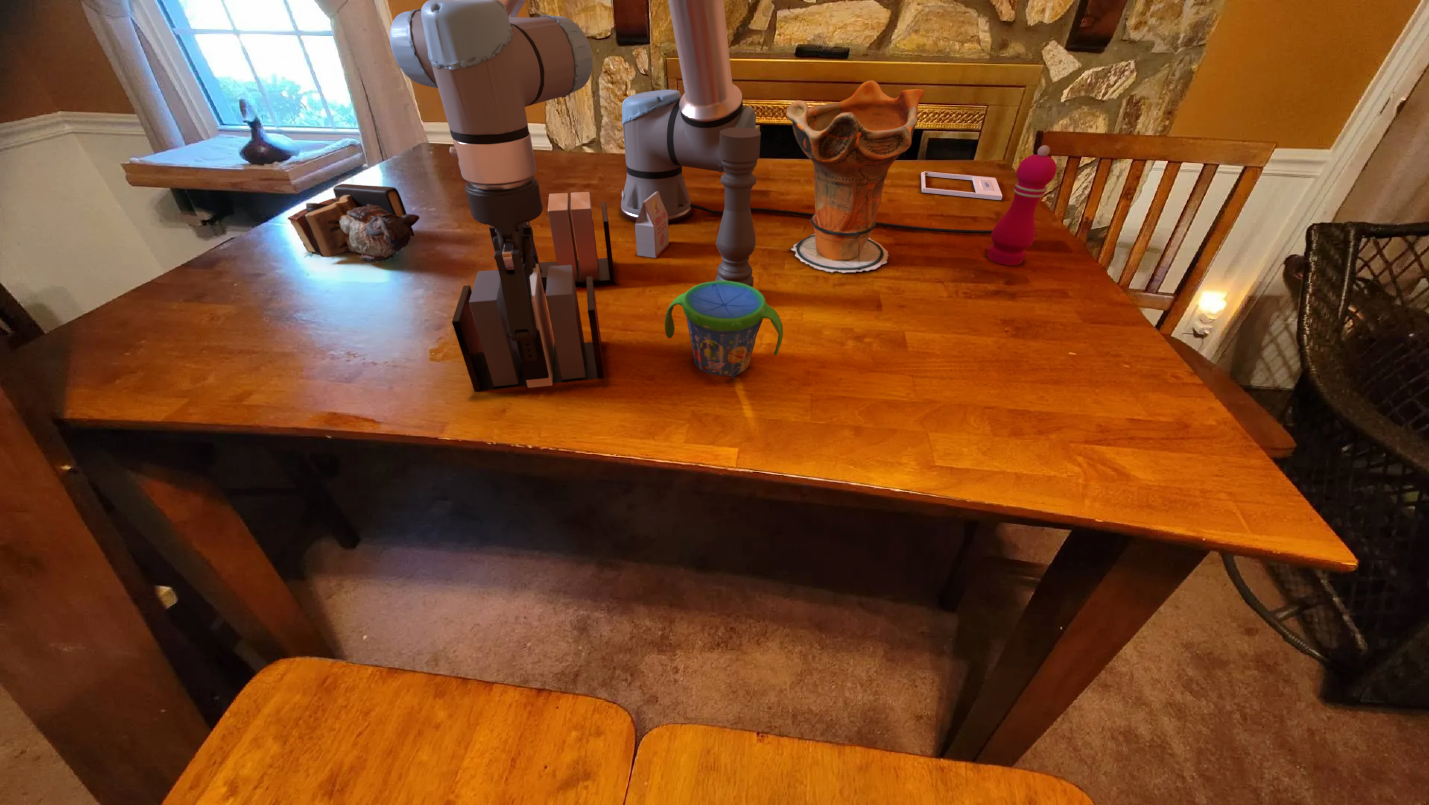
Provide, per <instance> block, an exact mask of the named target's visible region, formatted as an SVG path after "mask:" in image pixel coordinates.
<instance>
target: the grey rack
mask: <svg viewBox="0 0 1429 805" xmlns="http://www.w3.org/2000/svg"><path fill="white" fill-rule="evenodd" d="M586 281H587V287H586V300H587V301H586V302H587V314H588V319H589V320H588V321H589V327H590V335H591V341H588V342H584V343H585V367H586V377H585V378H575V379H565V380H562V376H561V371H560V366H559V361H558V356H557V351H556V346H555V344H554V359H553V381H552V385H553V384H561V383H572V382H582V381H590V380H602V379H605V373H604V360H603V359H604V358H603V357H604V356H603V346H602V344H603V343H602V336H601V330H600V322H599V315H598V314H599V313H598V307H597V300H596V291H595V286H594V284H593V277H592V276H589V277H586ZM472 291H473V290H472V288H471V285H463V286H462V290H461V292H460V295H459V298H458V301H457V305H456V308H455V310H454V312H453V313H454V314H453V317H452V320H451V324H452V327H453V330H454V333H455V336H456V339H457V342H458V345H459V348H460V351H461V354H462V357H463V361H464V363H465V367H466V370H467V373H468V376H469V379H470V382H471V385H472V388H473V392H475V393H476V392H484V391H494V390H503V389H513V388H514V389H515V388H523V387H528V386H527V382H526V378H525V374H524V370H523V366H522V362H521V368H520V376H519V384H516V385H506V386H496V387H494V385H493V382H492V378H491V375H490V372H489V368H488V365H487V361H486V358H485V355H484V351H483V348H482V345H481V341H480V338H479V334H478V331H477V328H476V324H475V321H474V318H473V314H472V311H471V307H470V304H469V301H470V297H471V294H472Z"/></svg>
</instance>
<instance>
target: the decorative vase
mask: <svg viewBox="0 0 1429 805" xmlns="http://www.w3.org/2000/svg"><path fill="white" fill-rule="evenodd" d="M881 88H882V87H881V86H880V84H879V83H878V82H876V81H875V80H867V81H864V82H862V83H861V85H859V86H858V87H857V88H856V90H855V91H854V93H853V94H852V95H851V96H850V97H848V98H846V99H843V100H841V101H839V102H833V103H827V104H821V105H814V106H812V107H809V104H808V103H807V101H805V100H799V99H798V100H795V101H792V102H791V103H790V104H789V105H788V107H787V109H786V113H785V114H786V115H785V116H786V118H787V119H788V120H789V121H790V122H791V124H792V126H791V127H792V130H793V134H794V137H795V140H796V142H797V144H798V145H799V147H800V149H801V150H802V152H803V154H805V155H806V156H807V158H808V159H809V160H811V162H812V163H813V171H814V203H815V204H814V208H815V209H814V210H815V212H814V214H815V215H813V217H810V219H809V220H808V221H807V223H806V225H805V226H804V228H803V231H802V233H804V232H805V230H806V228H807V225H808V224H809V222H810V223H811V224H812V226H813V231H814V233H813V234H811V235H808V237H806V238H803V239H801V240H800V239H799V241H798V242H796V243H795V244H793V246H792V247H793V248H791V249H790V250H791V251H793V252H795V254H794V257H795V258H798V260H799V261H800V262H802V263H805V265H809V267H813V269H816V270H822V271H824V272H826V273H827V272H830V273H832V274H833V273H834V272H838V273H842V274H846V273H856V272H860V273H862V272H863V271H865V272H869V271H870V270H876V269H878V268H879V267H881V265H884V264H887V263H888V259H889V257H890V255H889V254H888V253H889V251H888V250H886V248H884V247H883V245H882V244H881V243H879V242H877V241H876V240H874V239H872V238H871V235H872V234H873V230H874V229H875V228H876V227H877V226H876V223H877V222H878V221H877V220H876V217H877V215H878V211H879V208H880V205H881V203H882V197H883V190H884V186H885V180H886V178H887V177H888V171H889V169H890V168H891V166H892V165H893V164H894V163H895V161H896V160H897V159H898V158H899V157H900V156H901V155H902V154H904V153H905V152H907V150H909V149H910V148H911V145H912V138H913V135H914V132H915V128H916V126H917V125H918V108H919V105H920V102H921V100H922V98H923V97H924V95H925V90H924V89H921V88H911V89H904V90H903V89H902V91H900V92H899V95H898V96H896V97H894V98H893V97H890V96H889V95H887V94H886V93H884V92H883V90H882V89H881Z"/></svg>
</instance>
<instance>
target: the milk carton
mask: <svg viewBox="0 0 1429 805" xmlns="http://www.w3.org/2000/svg"><path fill="white" fill-rule="evenodd" d="M634 231H635V246H636V255H637V256H639V257H647V258H652V259H653V258H654V259H656V258H657V257H658V256H659V255H660V254H661V253H662V252H664V250H665V249H666V248H667V247H668V246H669V244H670V242H669V240H670V239H669V223H668V214H667V212H666V210H665V207H664V205H663V203H662V201H661V198H660V195H659V191H658V192H657V191H656V192H655V193H653V194H652V195H651V196H650V197H649V198H647V199H646V200H645V201H644V202H642V207H641V210H640V213H639V216H638V218H637V220H636V222H635V223H634Z"/></svg>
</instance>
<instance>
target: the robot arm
mask: <svg viewBox="0 0 1429 805" xmlns="http://www.w3.org/2000/svg"><path fill="white" fill-rule="evenodd" d="M526 2H527V0H427V1H425V2H424V3H423V4H422V6H421V9H419V8H416V9H415V8H414V9H412V10H408V11H403V12H401V13H399V14H397V15H396V16H395V17H394V19H393V21H392V23H391V26H390V30H389V44H390V49H391V52H392V53H391V54H392V55H393V58H394V60H395V62H396V64H397V66H398V67H399V68H400V70H401V71H402V73H404V75H405V76H406V77H407V78H408V79H410V80H411V81H412V82H414V83H415V84H418V85H421V86H424V87H429V88H434V89H437V90H438V93H439V96H440V100H441V103H442V107H443V110H444V115H445V118H446V121H447V125H448V129H449V132H450V136H451V138H452V142H453V146H450V147H449V151H448V152H449V154H450V155H451V156H452V157H457V159H458V162H457V163H458V166H459V171H460V174H461V177H462V179H463V180H465V181H467V182H466V183H465V185H464V191H465V195H466V198H467V202H468V206H469V207H468V208H469V210H470V213H471V216H472V218H473V220H475V221H476V222H478V223H479V224H482V225H485V226H486V225H488V226H490V225H491V226H493V227H495V228H496V230H495V231H496V237H493V242H492V244H493V243H494V246H493V250H494V249H495V250H494V254H493V259H494V261H495V263H496V267H497V270H498V271H499V275H500V280H501V285H502V291H503V296H504V301H505V306H506V312H507V317H508V322H509V327H510V333H507V337H508V338H511V339H512V341H516V342H517V346H518V350H519V354H520V358H521V362H522V366H523V370H524V374H525V378H526V380H534V379H544V378H549V373H548V369H547V364H546V359H545V355H544V350H543V345H542V341H541V336H540V331H539V330H538V329H537V327H536V320H535V314H534V310H533V305H532V291H531V283H530V276H531V275H532V274H533V268H536V264H539V263H540V261H539V257H538V252H537V247H536V244H535V240H534V230H533V227H532V226H531V223H530V222H532V221H534V220H536V219H537V218H539V217H540V216H541V215H542V213H543V209H544V207H543V206H544V205H543V200H542V195H541V189H540V184H539V180H538V179H537V178H536V177H535V175H536V173H537V172H538V170H537V165H536V164H537V163H536V159H535V153H534V147H533V141H532V137H531V132H530V129H529V123H528V119H527V113H526V107H529V106H533V105H537V104H541V103H544V102H548V101H551V100H555V99H558V98H562V99H563V98H567V96H568V97H569V96H570V95H571V94H573V93H576V92H578V91H579V90H581V89H583V88H584V87H585V86H586V85H587V84H588V82H589V80H590V78H591V76H592V73H593V72H592V71H593V65H594V62H593V53H592V47H591V44H590V42H589V39H588V37H587V35H586V34H585V33H584V30H582V28H581V27H580V25H578V24H577V23H576V22H575V21H574V20H572V19H570V18H568V17H565V16H562V15H555V16H554V15H552V14H550V15H547V14H543V15H540V16H537V17H523V16H518V15H519V13H520V11H521V10H522V8H523V7H524V5H525V3H526ZM667 2H668V9H669V13H670V17H671V18H670V19H671V24H672V30H673V34H674V40H675V46H676V50H677V51H676V52H677V56H678V57H677V58H678V61H679V67H680V73H681V77H682V78H681V79H682V85H683V90H684V93H683V94H681V92H680V91H679V90H678V89H659V90H652V91H645V92H639V93H635V94H632V95H629V96H627V97H626V98H624V100H623V101H622V104H621V125H622V134H623V145H624V156H625V168H626V178H625V183H624V184H625V185H624V188H623V189H622V191H621V201H620V208H621V209H620V210H621V214H622V216H623V217H624V218H625V219H627V220H629V221H633V222H635V223H636V220H637V218H638V216H639V213H640V210H641V207H642V202H644V201H645V200H646V199H647V198H649V197H650V196H651V195H652V194H653V193H655V192H656V191H657V192H658V191H659V195H660V198H661V201H662V203H663V205H664V207H665V210H666V212H667V214H668V224H669V223H675V222H678V221H681V220H684V219H687V217H689V216H690V215H691V214H692V208H693V209H695V210H696V209H697V210H700V211H702V212H703V211H704V212H707V213H709V214H712V215H722V216H723V212H724V210H714V209H711V208H708V207H705V206H702V205H698V204H694V203H692V201H691V197H690V195H689V191H688V188H687V185H686V182H685V178H684V175H683V167H685V168H692V169H699V170H706V171H714V172H718V173H723V172H724V173H725V170H724V167H723V165H722V164H721V158H720V157H719V141H720V131H721V130H723V129H727V128H737V127H739V128H751V129H755V130H756V125H757V116H756V111H755V109H754V108H752V107H750V106H749V105H746V106H744V102H743V101H744V100H743V93H742V91H741V89H740V88H739V87H738V86H737V85H735V84H734V83H733V77H732V70H731V69H732V67H731V59H730V49H729V48H730V47H729V40H728V31H727V30H728V29H727V22H726V13H725V12H726V11H725V2H724V0H667ZM750 209H751V212H762V213H772V214H783V215H792V216H800V217H810V218H812V217H813V215H815V213H811V212H803V211H796V210H795V211H794V210H783V209H776V208H775V209H774V208H766V207H750ZM876 222H877V223H876V226H875V227H883V228H884V227H885V228H892V229H902V230H910V231H922V232H933V233H948V234H973V235H991V234H992V231H993V229H957V228H956V229H955V228H938V227H926V226H916V225H915V226H914V225H907V224H906V225H905V224H895V223H889V222H879V221H876ZM539 269H540V274H541V273H542V269H541V268H540V264H539ZM541 279H542V284H543V286H547V277H541Z"/></svg>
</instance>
